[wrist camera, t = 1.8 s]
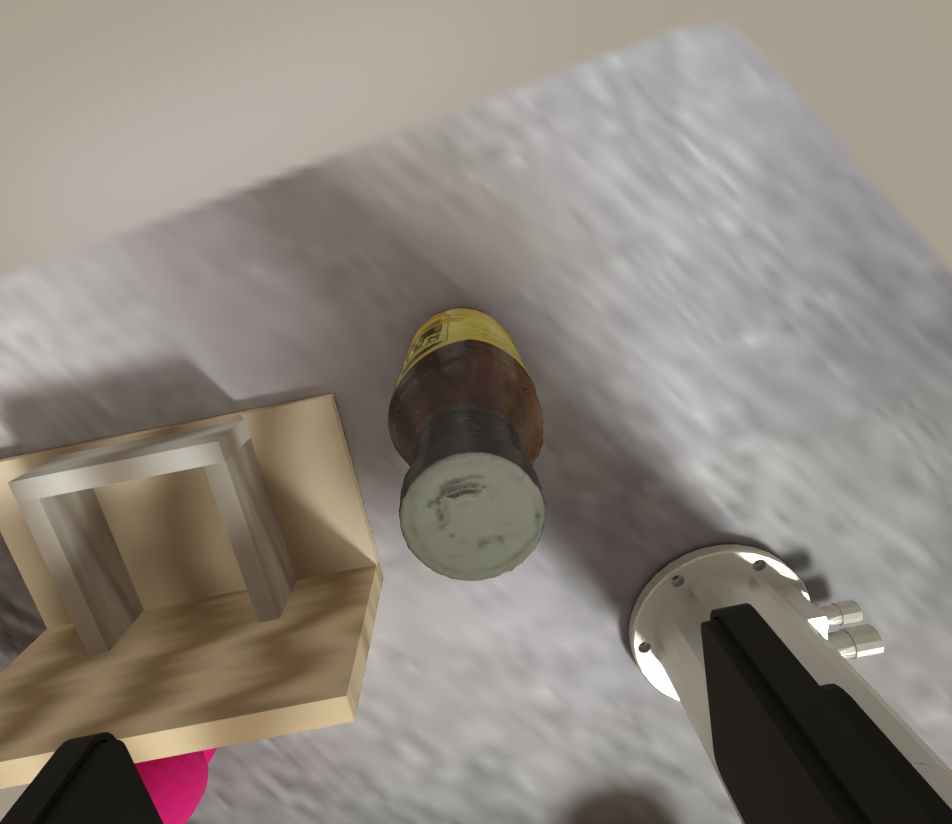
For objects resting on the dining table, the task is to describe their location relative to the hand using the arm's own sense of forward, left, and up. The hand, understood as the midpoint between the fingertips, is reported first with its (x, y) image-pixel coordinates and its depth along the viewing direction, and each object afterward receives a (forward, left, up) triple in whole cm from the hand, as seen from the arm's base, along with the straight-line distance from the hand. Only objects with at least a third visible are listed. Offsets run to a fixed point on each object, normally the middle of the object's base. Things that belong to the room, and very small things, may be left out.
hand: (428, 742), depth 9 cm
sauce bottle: (-1, -1, -27) cm, 27 cm away
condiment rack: (+18, +6, -26) cm, 32 cm away
